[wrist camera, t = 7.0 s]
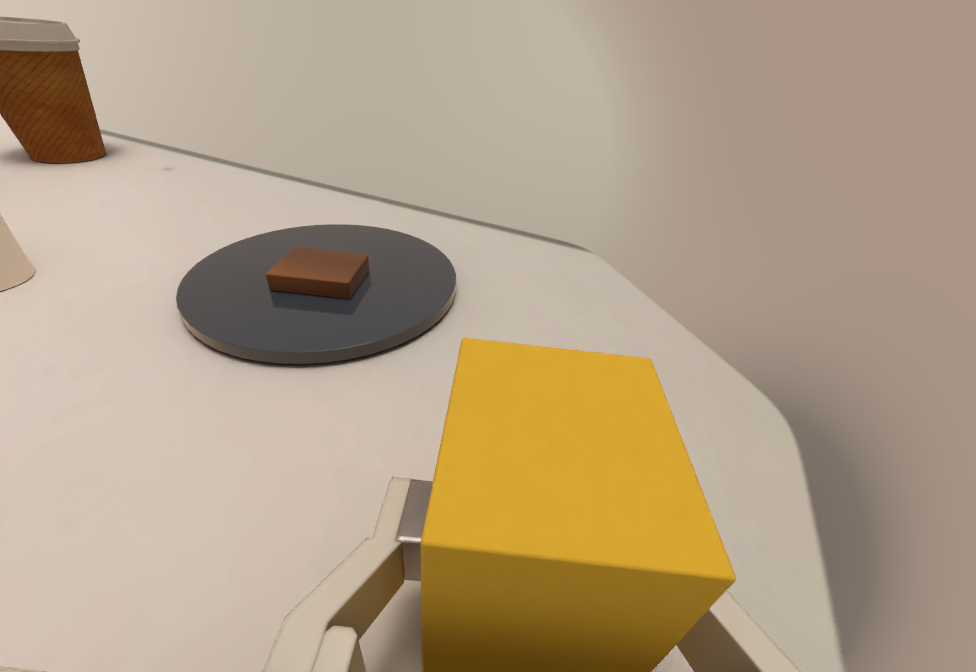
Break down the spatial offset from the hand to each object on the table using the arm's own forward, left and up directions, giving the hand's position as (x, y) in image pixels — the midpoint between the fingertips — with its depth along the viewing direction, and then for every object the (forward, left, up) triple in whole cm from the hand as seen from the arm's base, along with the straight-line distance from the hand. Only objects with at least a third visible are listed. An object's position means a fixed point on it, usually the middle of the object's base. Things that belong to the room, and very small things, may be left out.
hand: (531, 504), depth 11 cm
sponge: (0, +1, -5) cm, 5 cm away
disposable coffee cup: (+34, -53, -5) cm, 63 cm away
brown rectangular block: (+7, -20, -4) cm, 22 cm away
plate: (+6, -21, -5) cm, 23 cm away
